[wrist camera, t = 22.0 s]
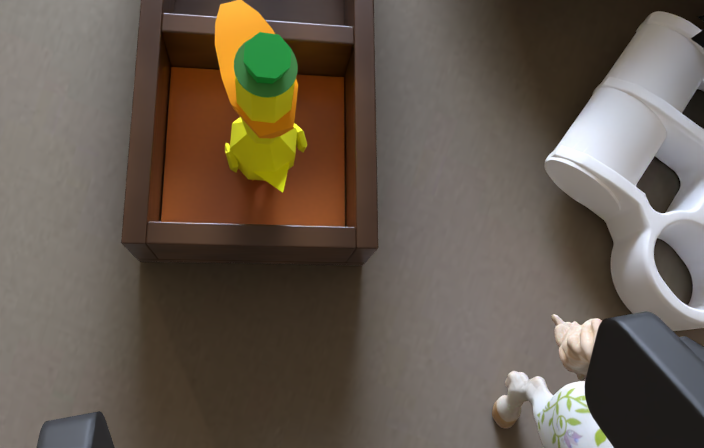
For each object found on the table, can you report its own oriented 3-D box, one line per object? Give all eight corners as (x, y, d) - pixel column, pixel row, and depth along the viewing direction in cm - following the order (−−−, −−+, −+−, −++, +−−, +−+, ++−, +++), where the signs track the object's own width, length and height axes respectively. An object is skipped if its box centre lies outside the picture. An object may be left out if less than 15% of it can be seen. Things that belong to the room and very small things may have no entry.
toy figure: (203, 105, 32) (173, -49, 21) (271, 87, 33) (279, -72, 21) (245, 228, 31) (239, 137, 19) (314, 206, 32) (348, 106, 20)
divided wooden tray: (139, 262, 31) (120, 243, 27) (166, -105, 36) (154, -168, 32) (362, 266, 32) (378, 248, 28) (358, -86, 37) (371, -144, 33)
